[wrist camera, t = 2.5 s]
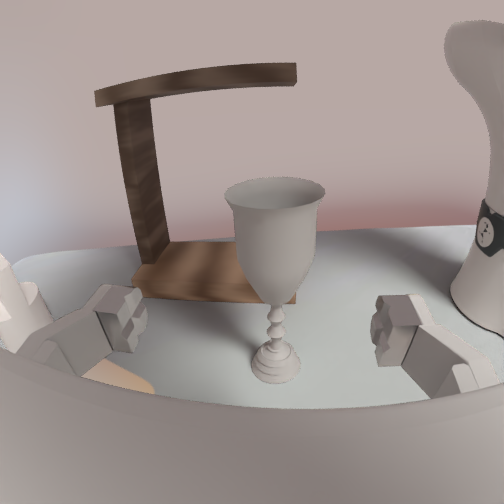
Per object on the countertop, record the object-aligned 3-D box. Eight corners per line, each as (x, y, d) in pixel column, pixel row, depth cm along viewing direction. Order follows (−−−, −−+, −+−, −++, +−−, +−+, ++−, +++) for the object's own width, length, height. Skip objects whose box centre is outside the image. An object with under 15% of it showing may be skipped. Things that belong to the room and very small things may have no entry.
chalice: (267, 331, 33) (262, 173, 25) (321, 353, 30) (340, 184, 21) (227, 373, 28) (202, 198, 20) (286, 403, 25) (294, 217, 16)
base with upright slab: (0, 337, 31) (-35, 268, 25) (41, 307, 38) (12, 239, 32) (18, 366, 27) (-28, 289, 21) (64, 330, 34) (30, 252, 28)
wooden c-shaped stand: (294, 259, 47) (293, 72, 33) (295, 303, 38) (296, 62, 24) (162, 257, 50) (136, 88, 36) (136, 296, 40) (94, 91, 26)
